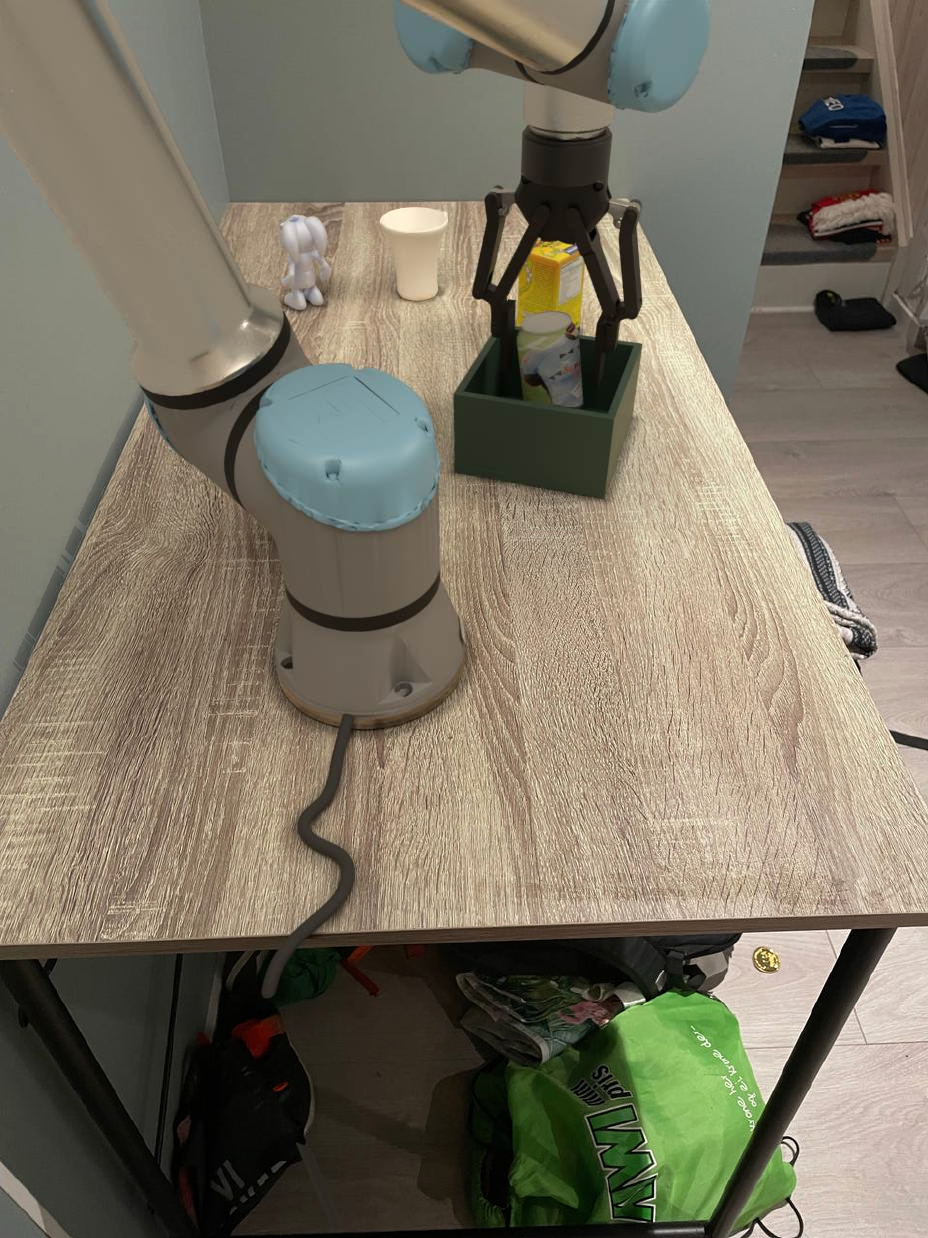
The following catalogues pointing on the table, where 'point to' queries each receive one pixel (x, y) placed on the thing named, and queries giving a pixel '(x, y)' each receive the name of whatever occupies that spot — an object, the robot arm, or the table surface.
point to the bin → (544, 423)
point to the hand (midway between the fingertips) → (551, 373)
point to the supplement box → (551, 281)
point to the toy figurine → (303, 259)
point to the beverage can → (550, 360)
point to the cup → (415, 249)
